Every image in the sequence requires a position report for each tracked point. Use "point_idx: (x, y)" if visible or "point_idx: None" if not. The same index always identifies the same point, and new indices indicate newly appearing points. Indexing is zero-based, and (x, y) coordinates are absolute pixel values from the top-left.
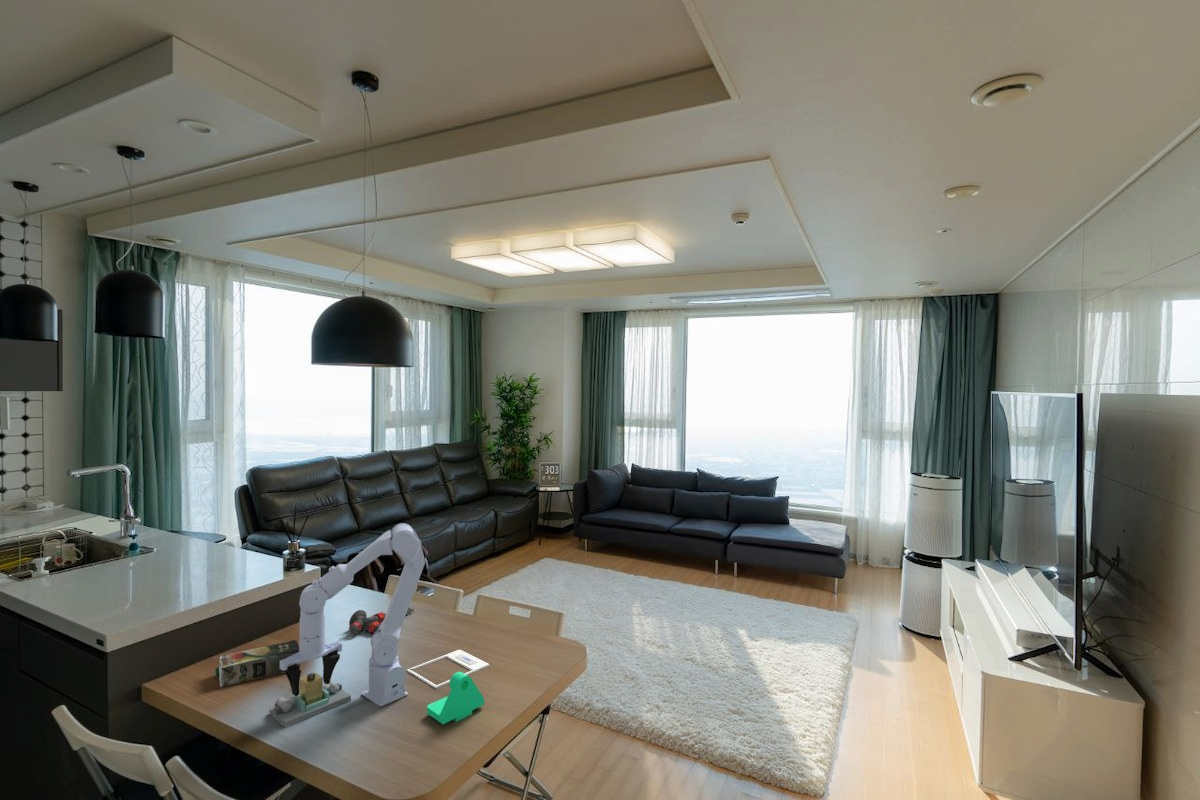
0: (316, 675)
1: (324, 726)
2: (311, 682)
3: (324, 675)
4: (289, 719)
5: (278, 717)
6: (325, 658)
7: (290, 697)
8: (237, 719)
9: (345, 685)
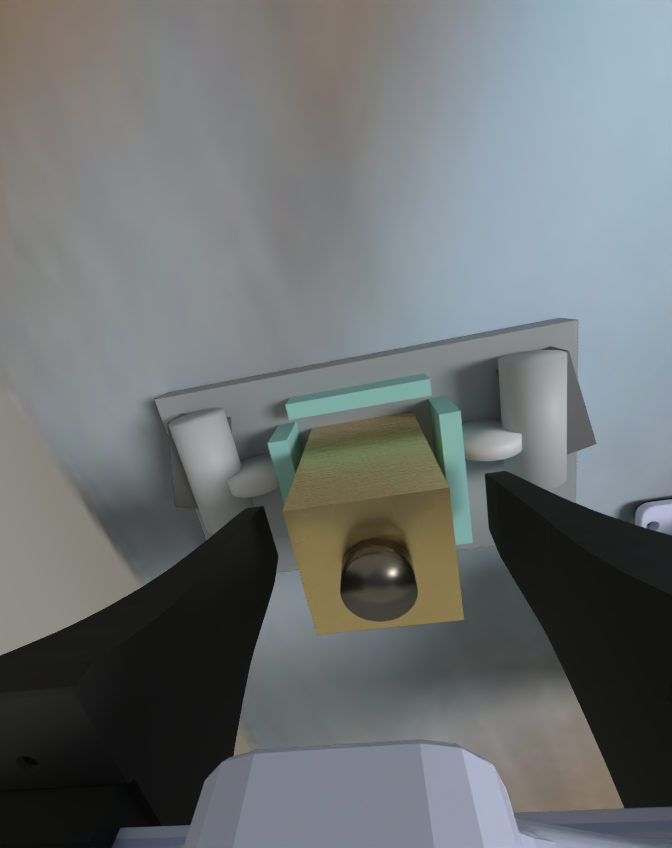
0: (434, 552)
1: (370, 645)
2: (360, 625)
3: (510, 513)
4: None
5: (198, 511)
6: (637, 688)
7: (243, 484)
8: (16, 346)
9: (640, 318)
